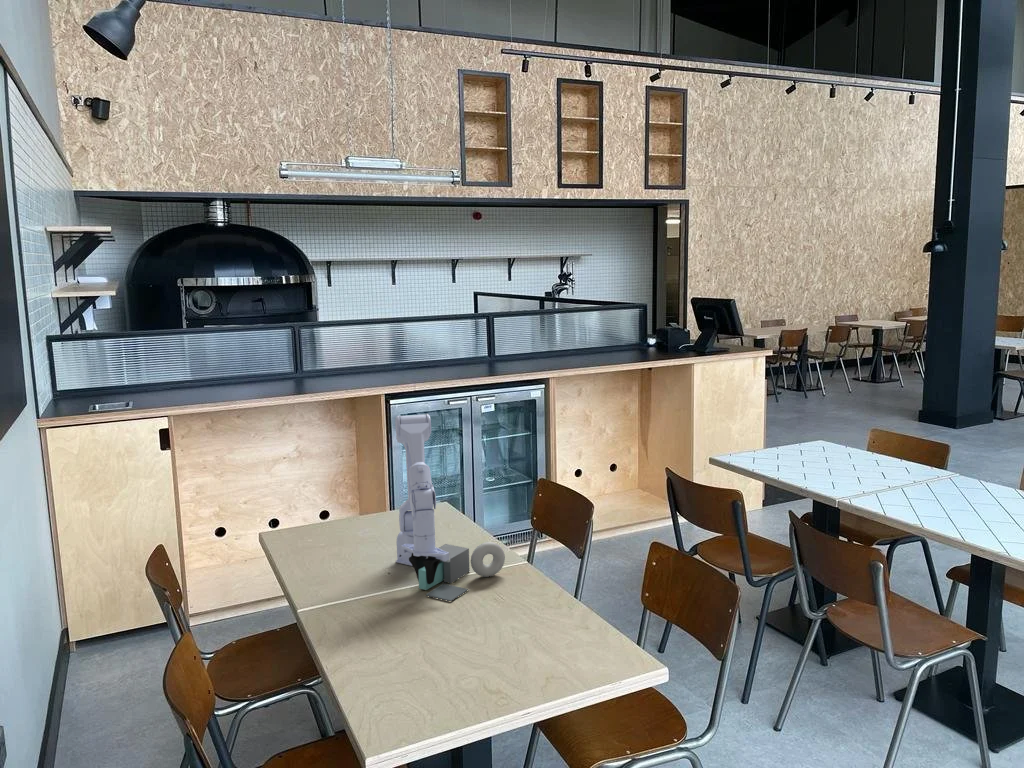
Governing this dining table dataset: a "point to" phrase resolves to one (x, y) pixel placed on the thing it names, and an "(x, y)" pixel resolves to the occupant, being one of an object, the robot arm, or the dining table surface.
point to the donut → (496, 562)
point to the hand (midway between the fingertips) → (426, 581)
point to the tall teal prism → (438, 578)
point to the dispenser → (455, 562)
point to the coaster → (446, 592)
